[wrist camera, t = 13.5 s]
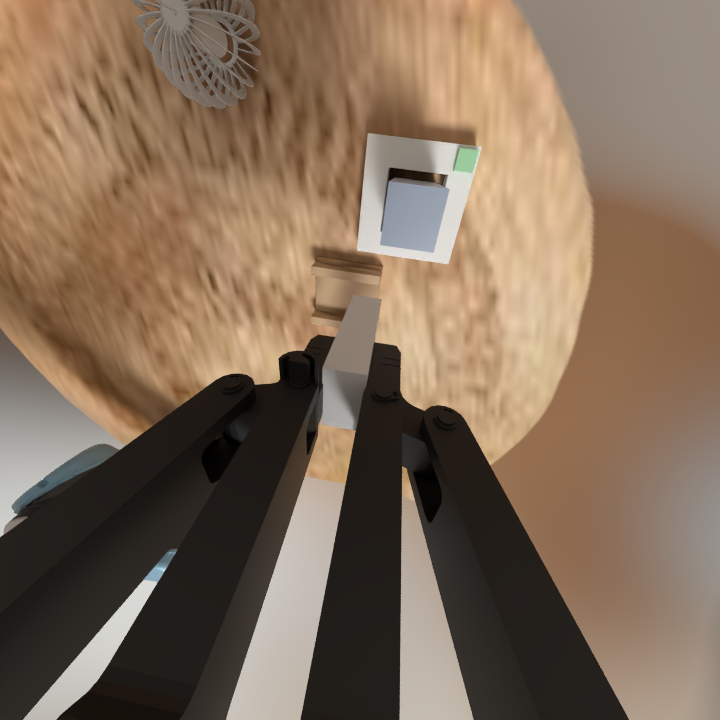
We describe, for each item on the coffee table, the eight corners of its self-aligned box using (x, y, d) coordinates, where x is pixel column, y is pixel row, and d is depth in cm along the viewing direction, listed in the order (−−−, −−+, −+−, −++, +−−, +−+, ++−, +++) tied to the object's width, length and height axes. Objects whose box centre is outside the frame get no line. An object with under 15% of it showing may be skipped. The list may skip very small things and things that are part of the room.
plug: (389, 220, 30) (379, 245, 20) (395, 177, 28) (388, 181, 18) (425, 225, 30) (433, 252, 20) (435, 182, 27) (449, 189, 18)
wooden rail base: (317, 315, 38) (311, 325, 36) (318, 256, 33) (311, 263, 31) (374, 324, 38) (371, 335, 35) (382, 266, 33) (380, 274, 30)
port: (360, 245, 32) (356, 252, 29) (371, 135, 26) (367, 132, 24) (445, 257, 31) (448, 265, 29) (476, 148, 25) (483, 146, 23)
